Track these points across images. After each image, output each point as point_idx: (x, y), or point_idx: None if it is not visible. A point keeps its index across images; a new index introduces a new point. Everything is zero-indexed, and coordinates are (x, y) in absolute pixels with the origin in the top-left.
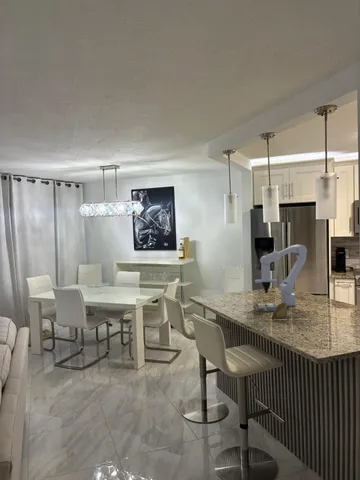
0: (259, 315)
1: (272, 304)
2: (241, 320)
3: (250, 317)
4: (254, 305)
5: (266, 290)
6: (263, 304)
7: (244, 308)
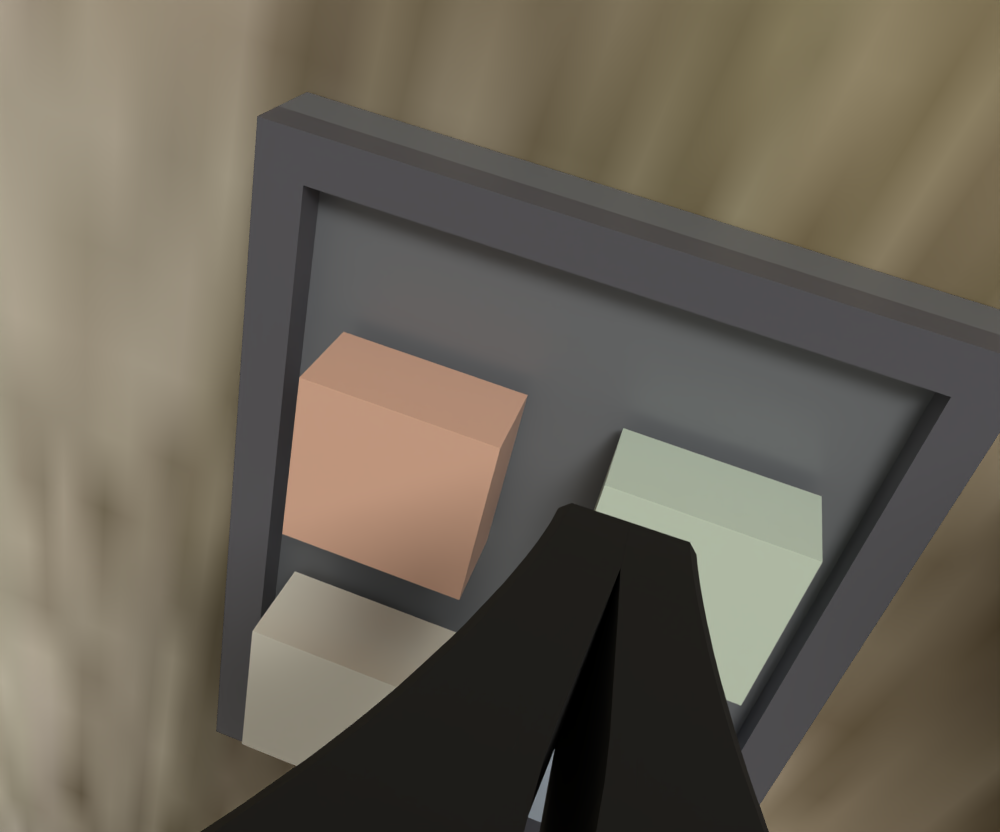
0: (290, 766)
1: (733, 662)
2: (5, 828)
3: (129, 784)
4: (263, 166)
5: (551, 805)
6: None
7: (10, 114)
